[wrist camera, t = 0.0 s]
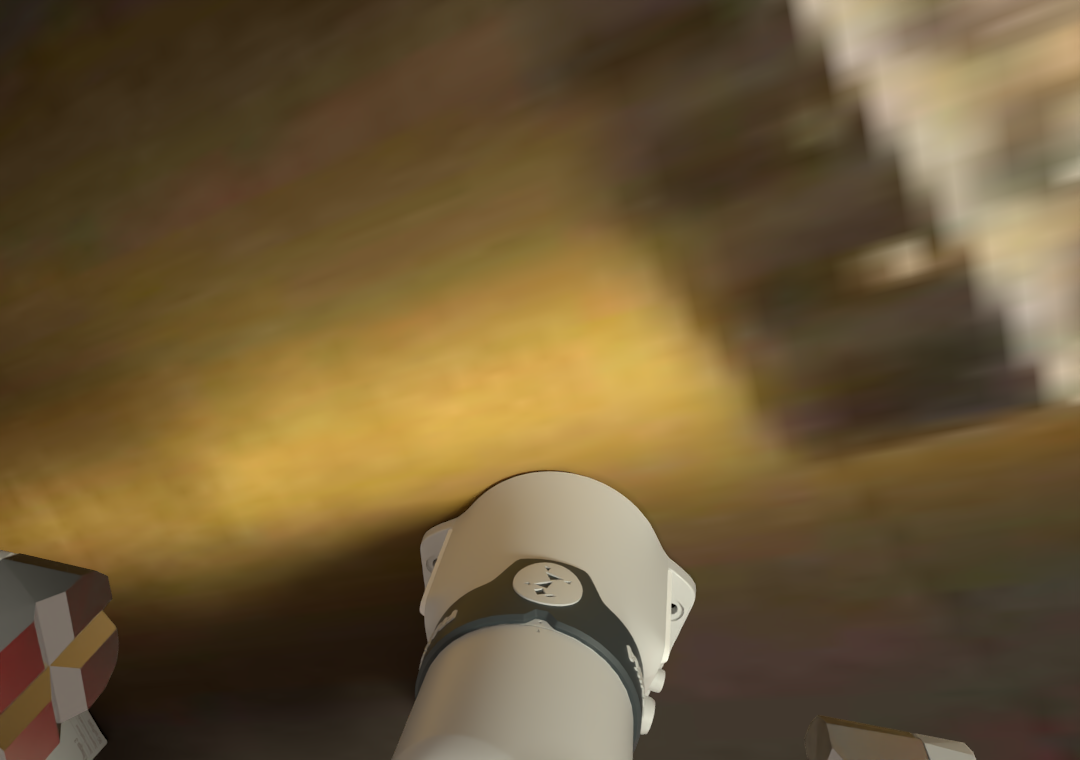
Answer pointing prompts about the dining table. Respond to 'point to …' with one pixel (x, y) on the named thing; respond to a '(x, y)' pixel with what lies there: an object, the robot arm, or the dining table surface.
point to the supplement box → (79, 739)
